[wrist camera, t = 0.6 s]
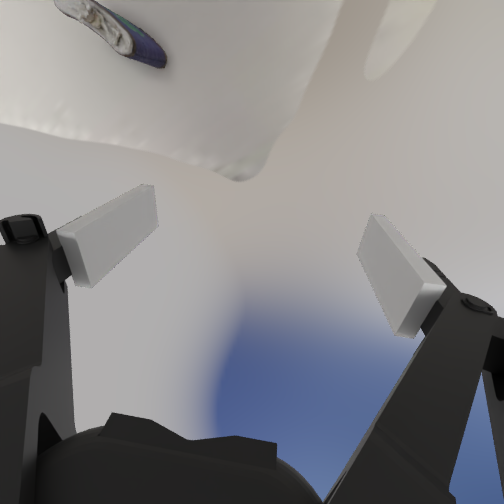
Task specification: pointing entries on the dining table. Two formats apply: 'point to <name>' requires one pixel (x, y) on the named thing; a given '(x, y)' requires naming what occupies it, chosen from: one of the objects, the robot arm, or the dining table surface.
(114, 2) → the dining table surface
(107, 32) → the flask
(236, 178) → the dining table surface
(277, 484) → the robot arm
